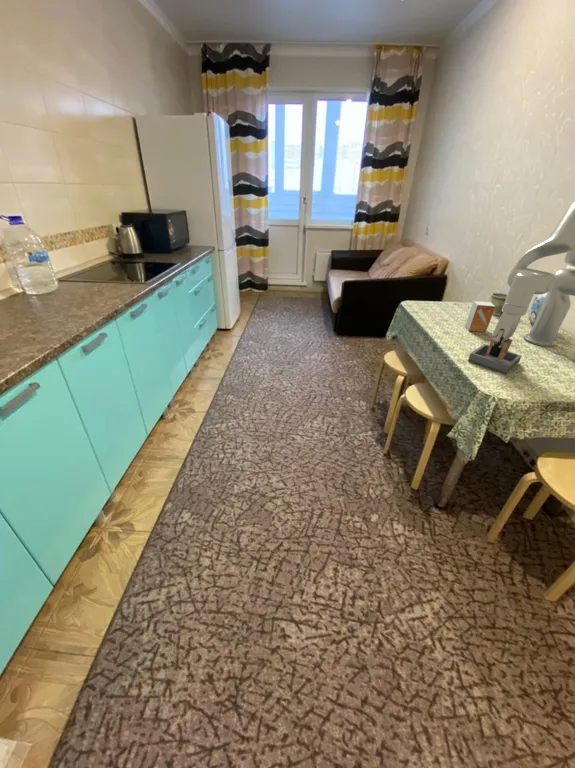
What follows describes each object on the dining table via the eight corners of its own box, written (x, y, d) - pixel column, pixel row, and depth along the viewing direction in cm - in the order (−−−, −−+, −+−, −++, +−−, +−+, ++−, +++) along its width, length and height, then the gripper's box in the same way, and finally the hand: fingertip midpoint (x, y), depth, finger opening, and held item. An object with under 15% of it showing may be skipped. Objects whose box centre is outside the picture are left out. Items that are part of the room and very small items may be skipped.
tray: (481, 351, 138) (484, 343, 136) (518, 363, 130) (521, 355, 128) (467, 361, 130) (470, 353, 128) (505, 374, 121) (509, 366, 120)
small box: (468, 331, 158) (477, 304, 151) (464, 326, 163) (473, 300, 156) (486, 332, 157) (496, 306, 150) (481, 327, 162) (491, 302, 155)
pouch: (539, 323, 171) (557, 284, 160) (546, 335, 156) (566, 294, 145) (522, 320, 173) (538, 282, 163) (526, 332, 158) (545, 291, 148)
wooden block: (490, 351, 132) (497, 335, 128) (505, 356, 128) (512, 339, 125) (485, 355, 128) (491, 338, 125) (500, 360, 125) (507, 343, 121)
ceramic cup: (481, 311, 183) (487, 294, 178) (492, 309, 187) (499, 292, 182) (503, 319, 173) (511, 300, 168) (515, 316, 178) (522, 298, 172)
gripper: (511, 301, 126) (494, 345, 135) (494, 310, 116) (477, 356, 125) (533, 306, 121) (514, 351, 131) (518, 316, 111) (498, 363, 120)
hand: (496, 353), depth 128 cm, fingers closed on wooden block, 5 cm apart
